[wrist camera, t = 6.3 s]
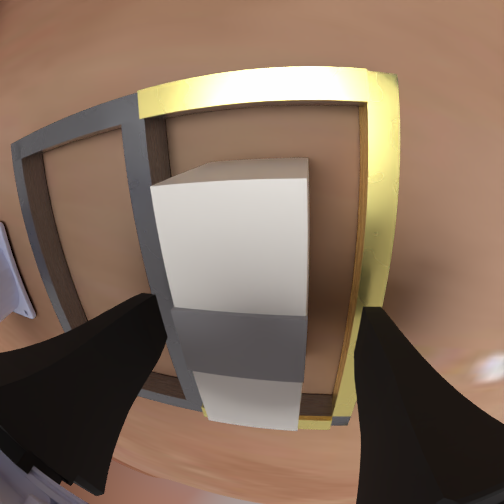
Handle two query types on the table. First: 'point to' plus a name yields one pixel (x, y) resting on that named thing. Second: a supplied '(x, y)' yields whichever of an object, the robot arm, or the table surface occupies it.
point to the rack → (158, 169)
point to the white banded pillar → (240, 283)
